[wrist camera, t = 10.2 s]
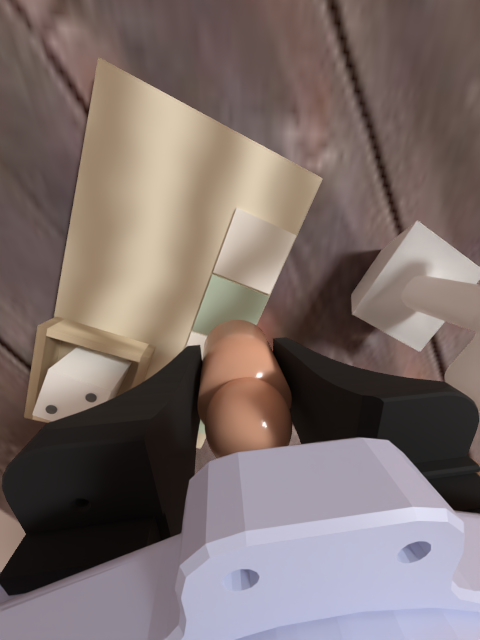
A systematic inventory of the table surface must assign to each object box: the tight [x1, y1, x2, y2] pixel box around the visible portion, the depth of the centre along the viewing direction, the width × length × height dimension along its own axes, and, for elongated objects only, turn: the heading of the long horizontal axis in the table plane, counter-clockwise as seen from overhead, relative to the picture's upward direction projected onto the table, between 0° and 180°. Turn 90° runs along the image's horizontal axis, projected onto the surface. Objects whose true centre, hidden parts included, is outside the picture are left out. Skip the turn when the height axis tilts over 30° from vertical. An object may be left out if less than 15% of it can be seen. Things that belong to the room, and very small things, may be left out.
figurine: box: [351, 221, 480, 412], centre depth 13 cm, size 7×9×15 cm
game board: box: [24, 57, 323, 448], centre depth 18 cm, size 15×26×3 cm, turn 158°
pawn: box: [198, 320, 292, 458], centre depth 10 cm, size 4×4×7 cm
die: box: [32, 345, 132, 421], centre depth 17 cm, size 4×4×4 cm
